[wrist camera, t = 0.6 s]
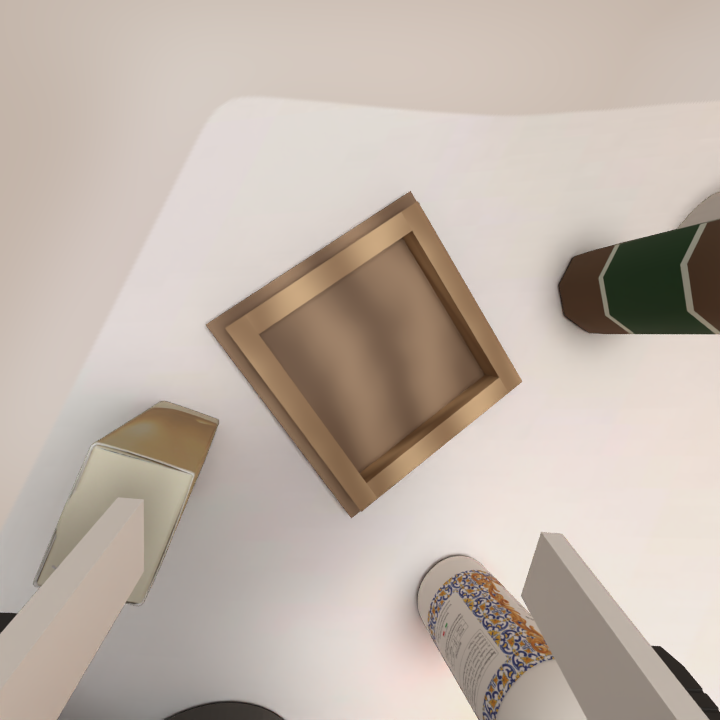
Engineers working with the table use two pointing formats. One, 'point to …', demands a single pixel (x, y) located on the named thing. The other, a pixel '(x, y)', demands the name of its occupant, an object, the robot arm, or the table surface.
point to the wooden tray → (370, 353)
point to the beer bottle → (648, 284)
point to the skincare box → (136, 484)
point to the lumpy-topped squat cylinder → (704, 211)
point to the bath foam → (493, 645)
